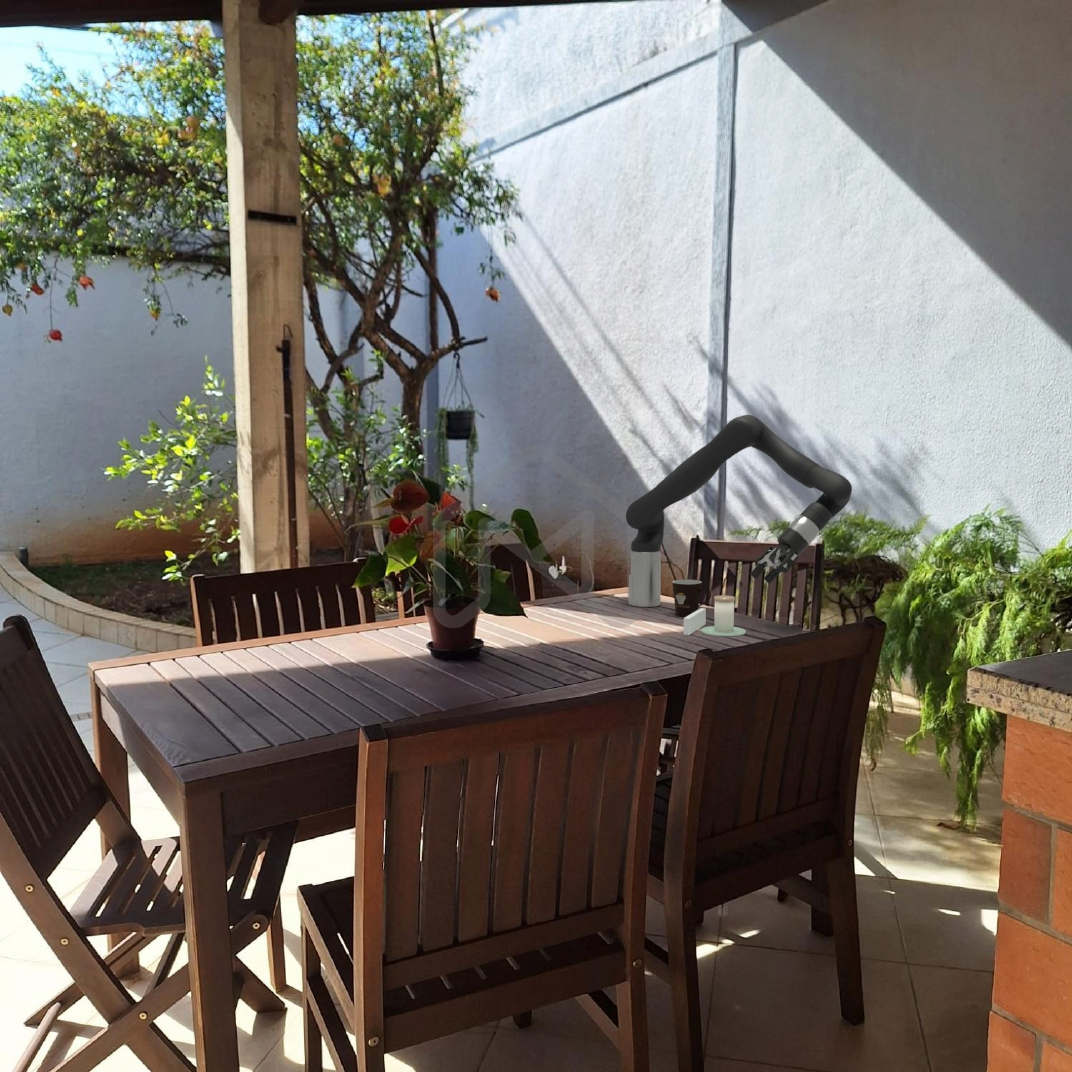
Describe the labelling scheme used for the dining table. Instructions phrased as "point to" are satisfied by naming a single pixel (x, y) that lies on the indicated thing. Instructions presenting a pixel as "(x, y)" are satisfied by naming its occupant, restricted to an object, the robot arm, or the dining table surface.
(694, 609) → the coffee mug
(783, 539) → the robot arm
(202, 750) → the dining table surface
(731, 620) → the cream jar
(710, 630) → the sage pad
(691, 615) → the grey wall
